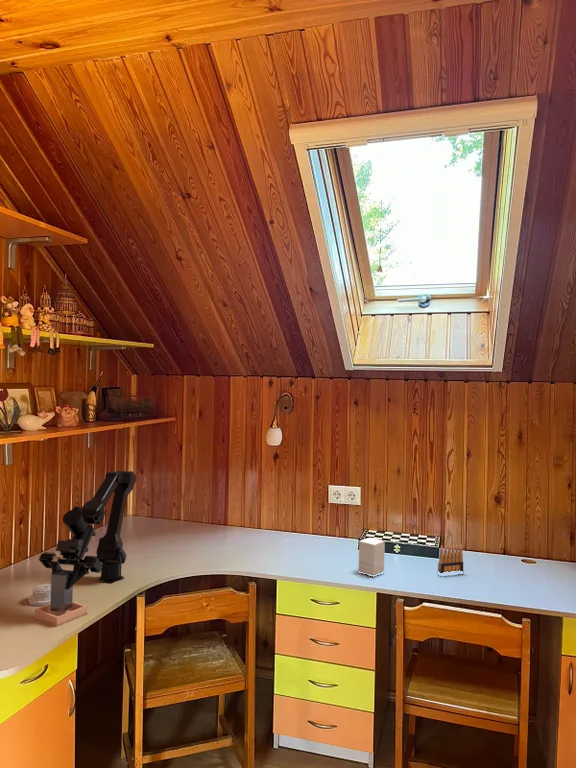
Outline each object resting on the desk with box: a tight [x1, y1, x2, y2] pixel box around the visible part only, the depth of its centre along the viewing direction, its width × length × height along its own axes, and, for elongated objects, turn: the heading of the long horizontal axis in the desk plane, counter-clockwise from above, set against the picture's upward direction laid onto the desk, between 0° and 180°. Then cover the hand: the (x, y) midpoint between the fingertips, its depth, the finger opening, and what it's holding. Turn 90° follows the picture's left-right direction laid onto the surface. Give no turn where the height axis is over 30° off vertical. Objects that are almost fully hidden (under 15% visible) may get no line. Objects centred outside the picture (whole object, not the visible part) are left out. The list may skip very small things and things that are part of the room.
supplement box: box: [358, 537, 386, 575], centre depth 216 cm, size 7×7×13 cm
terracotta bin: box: [34, 600, 88, 627], centre depth 168 cm, size 11×11×2 cm
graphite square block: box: [50, 569, 74, 612], centre depth 168 cm, size 4×4×11 cm
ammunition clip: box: [437, 543, 464, 573], centre depth 216 cm, size 11×2×12 cm, turn 110°
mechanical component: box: [27, 583, 51, 607], centre depth 180 cm, size 10×4×10 cm
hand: (59, 588), depth 167 cm, fingers closed on graphite square block, 4 cm apart
